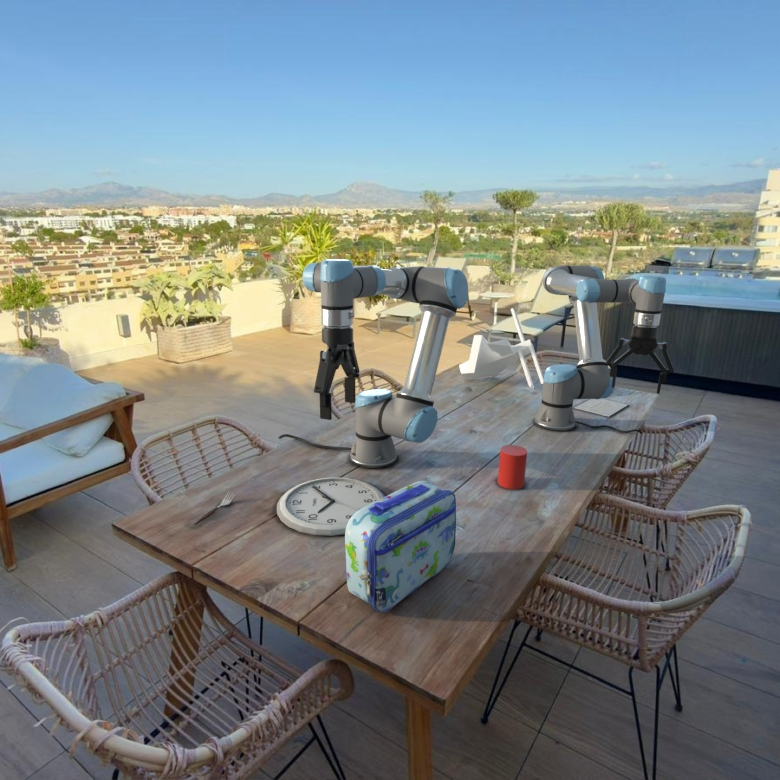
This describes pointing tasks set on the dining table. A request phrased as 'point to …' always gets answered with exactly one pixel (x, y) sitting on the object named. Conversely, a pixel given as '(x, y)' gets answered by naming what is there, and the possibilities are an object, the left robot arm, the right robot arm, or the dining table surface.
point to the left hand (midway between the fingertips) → (338, 410)
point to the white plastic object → (499, 356)
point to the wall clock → (325, 504)
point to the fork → (223, 503)
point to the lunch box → (399, 543)
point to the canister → (512, 466)
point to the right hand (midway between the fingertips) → (635, 389)
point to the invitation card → (601, 406)
